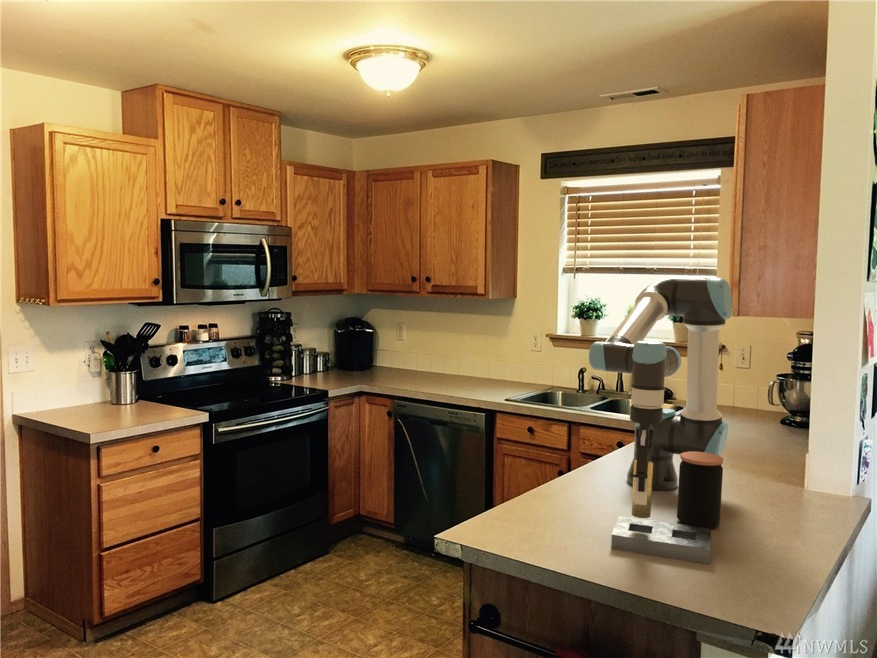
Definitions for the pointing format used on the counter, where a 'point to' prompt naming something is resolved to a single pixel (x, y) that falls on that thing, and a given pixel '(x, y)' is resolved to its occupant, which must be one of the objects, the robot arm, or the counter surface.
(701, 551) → the block
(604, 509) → the counter surface
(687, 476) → the coffee jar
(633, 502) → the yellow translucent cylinder
